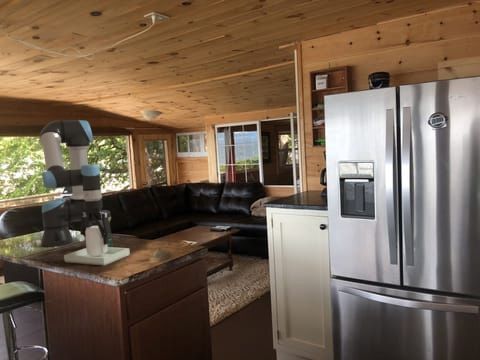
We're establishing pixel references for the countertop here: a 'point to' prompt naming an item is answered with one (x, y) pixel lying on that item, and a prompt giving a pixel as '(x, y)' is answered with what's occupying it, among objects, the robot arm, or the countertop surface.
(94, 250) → the beverage can
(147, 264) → the countertop surface
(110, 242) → the coffee jar
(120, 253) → the tray
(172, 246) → the countertop surface
